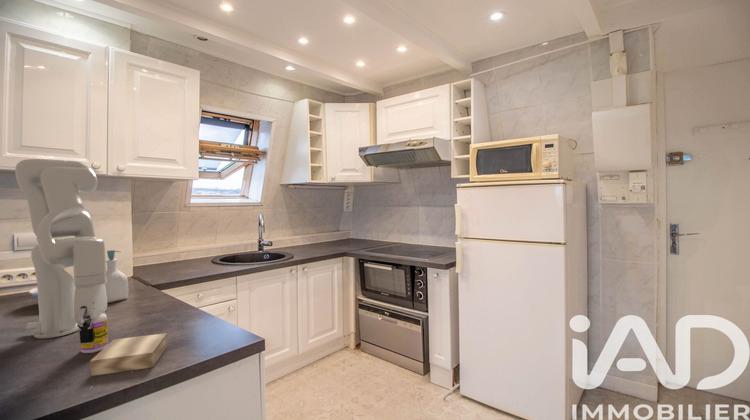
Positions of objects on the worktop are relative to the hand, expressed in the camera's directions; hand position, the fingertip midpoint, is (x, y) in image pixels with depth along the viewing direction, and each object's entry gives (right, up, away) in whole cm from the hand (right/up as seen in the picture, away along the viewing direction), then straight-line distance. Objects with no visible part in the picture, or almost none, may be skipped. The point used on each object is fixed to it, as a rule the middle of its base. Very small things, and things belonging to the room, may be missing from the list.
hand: (94, 336), depth 106 cm
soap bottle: (-33, -2, +52) cm, 62 cm away
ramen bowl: (-53, -3, +50) cm, 73 cm away
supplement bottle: (0, -4, 0) cm, 4 cm away
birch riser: (+17, -4, -7) cm, 19 cm away
